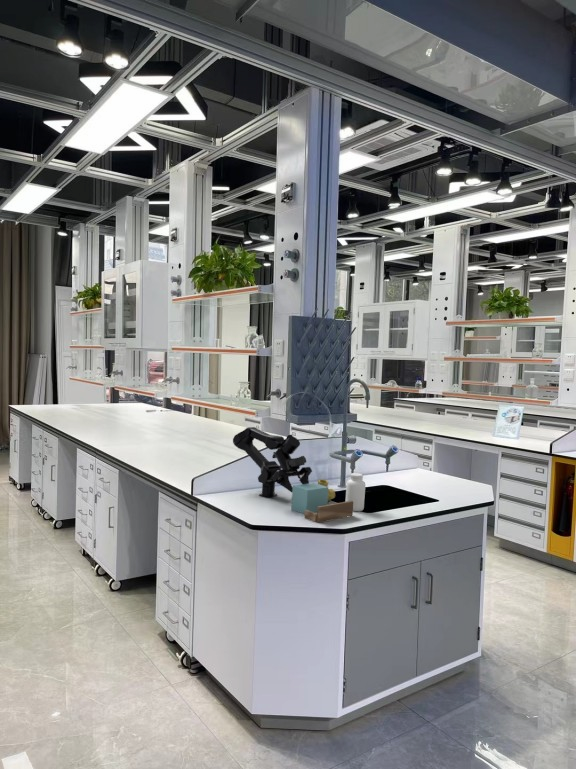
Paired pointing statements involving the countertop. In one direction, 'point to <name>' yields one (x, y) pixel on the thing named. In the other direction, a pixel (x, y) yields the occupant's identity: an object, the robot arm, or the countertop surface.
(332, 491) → the ball valve
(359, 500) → the pill bottle
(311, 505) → the crate
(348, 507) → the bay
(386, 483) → the countertop surface
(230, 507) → the countertop surface
